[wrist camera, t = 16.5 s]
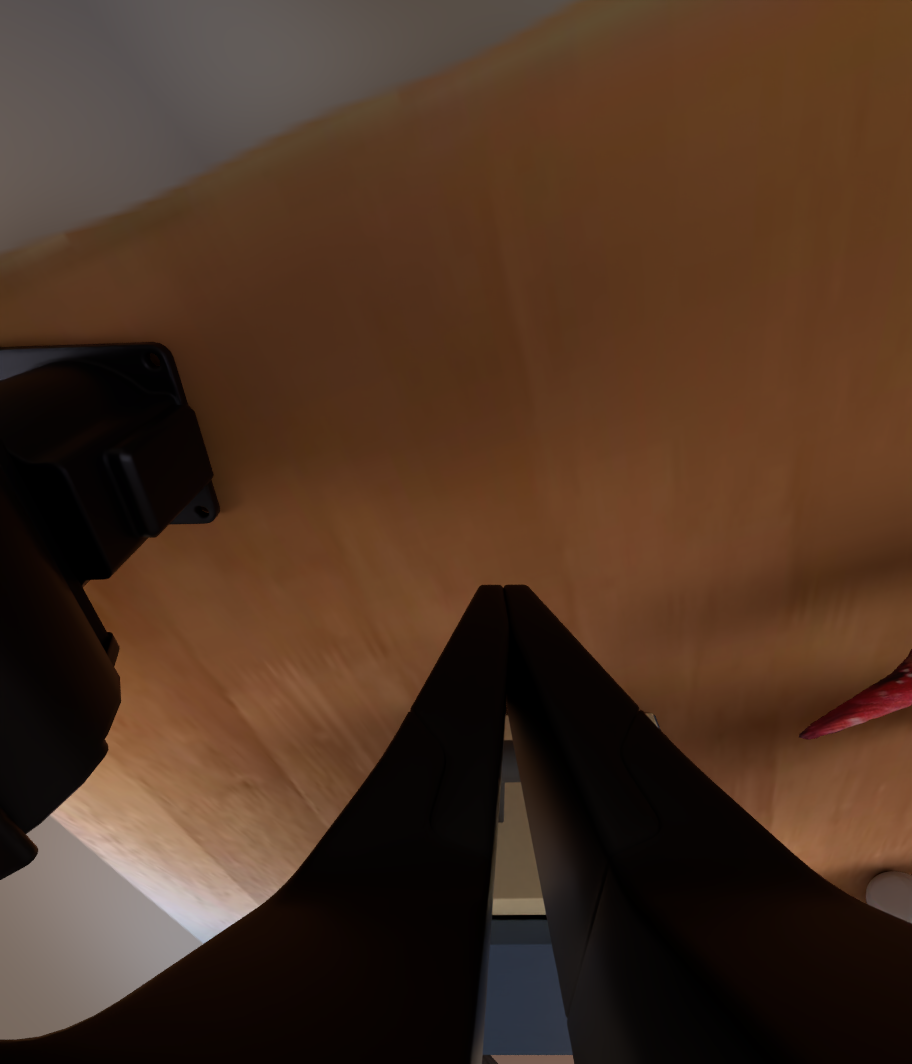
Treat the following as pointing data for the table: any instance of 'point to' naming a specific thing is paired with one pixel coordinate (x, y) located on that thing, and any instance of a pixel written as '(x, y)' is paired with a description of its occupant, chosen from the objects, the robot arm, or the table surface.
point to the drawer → (516, 847)
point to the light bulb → (891, 894)
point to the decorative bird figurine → (868, 703)
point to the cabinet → (524, 992)
